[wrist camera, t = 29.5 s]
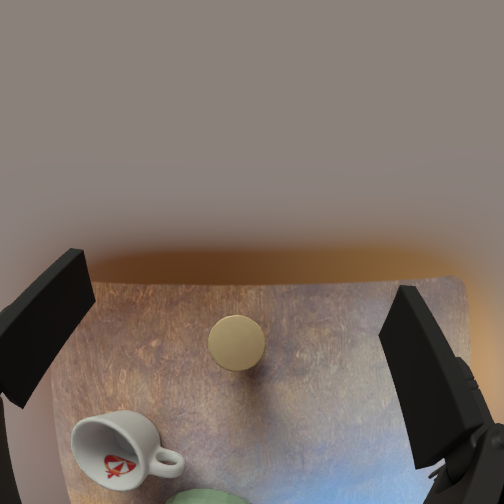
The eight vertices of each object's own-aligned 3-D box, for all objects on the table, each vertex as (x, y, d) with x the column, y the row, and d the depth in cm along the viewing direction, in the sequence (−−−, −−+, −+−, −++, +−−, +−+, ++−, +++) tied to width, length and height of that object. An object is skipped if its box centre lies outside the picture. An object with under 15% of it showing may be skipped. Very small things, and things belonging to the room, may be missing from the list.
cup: (199, 421, 26) (181, 446, 18) (189, 479, 24) (172, 513, 16) (109, 393, 27) (70, 404, 19) (104, 449, 24) (69, 471, 17)
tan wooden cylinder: (225, 333, 29) (198, 329, 15) (251, 321, 29) (250, 305, 15) (237, 359, 28) (222, 380, 14) (264, 347, 28) (275, 356, 14)
